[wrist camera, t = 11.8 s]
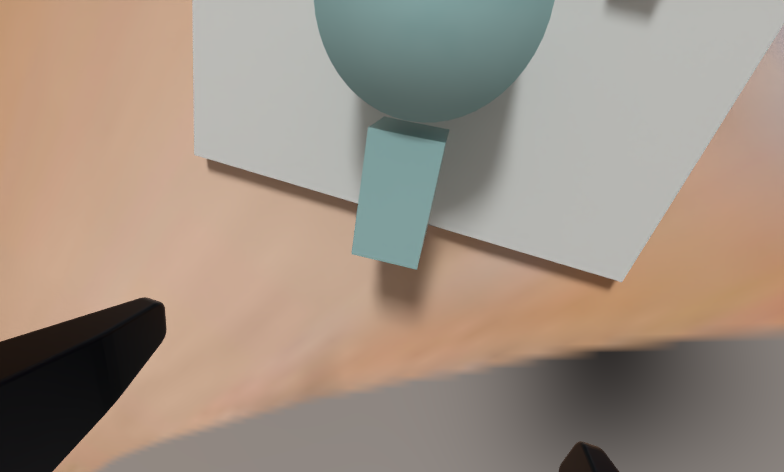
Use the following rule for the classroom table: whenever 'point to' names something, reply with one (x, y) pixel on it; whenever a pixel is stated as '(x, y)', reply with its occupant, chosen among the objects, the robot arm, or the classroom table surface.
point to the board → (500, 118)
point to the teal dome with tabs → (420, 95)
